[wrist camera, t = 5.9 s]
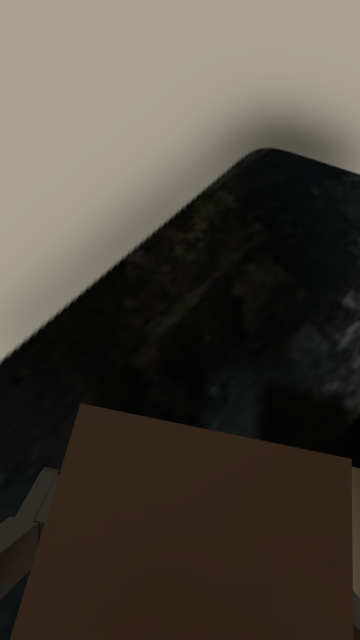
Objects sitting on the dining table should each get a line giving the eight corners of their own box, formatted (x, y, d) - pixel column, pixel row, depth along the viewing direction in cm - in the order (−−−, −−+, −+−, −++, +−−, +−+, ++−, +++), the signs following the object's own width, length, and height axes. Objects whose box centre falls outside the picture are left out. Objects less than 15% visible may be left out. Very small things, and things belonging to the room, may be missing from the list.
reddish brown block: (239, 441, 15) (351, 458, 7) (223, 590, 13) (356, 896, 4) (121, 417, 15) (80, 403, 6) (85, 562, 13) (-45, 822, 4)
